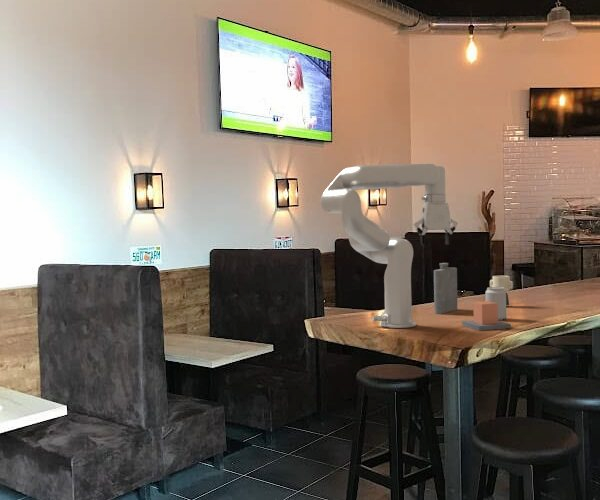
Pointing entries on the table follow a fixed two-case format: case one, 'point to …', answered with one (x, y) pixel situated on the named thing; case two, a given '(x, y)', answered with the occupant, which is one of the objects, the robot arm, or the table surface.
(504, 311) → the can
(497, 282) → the character mug
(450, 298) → the hip flask
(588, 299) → the table surface
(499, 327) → the post base
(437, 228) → the robot arm
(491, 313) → the salmon pink cube
